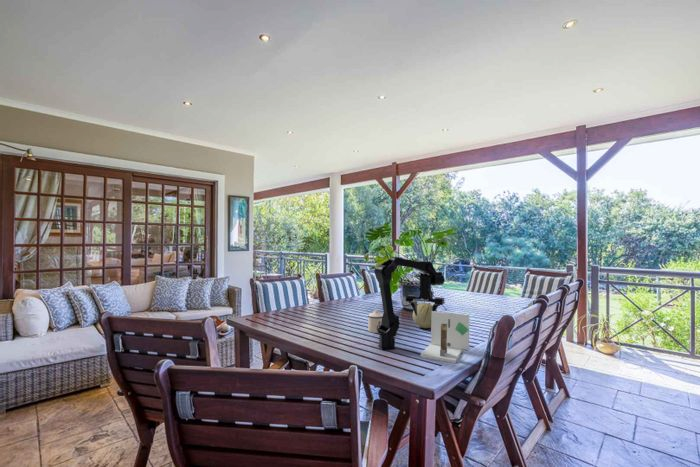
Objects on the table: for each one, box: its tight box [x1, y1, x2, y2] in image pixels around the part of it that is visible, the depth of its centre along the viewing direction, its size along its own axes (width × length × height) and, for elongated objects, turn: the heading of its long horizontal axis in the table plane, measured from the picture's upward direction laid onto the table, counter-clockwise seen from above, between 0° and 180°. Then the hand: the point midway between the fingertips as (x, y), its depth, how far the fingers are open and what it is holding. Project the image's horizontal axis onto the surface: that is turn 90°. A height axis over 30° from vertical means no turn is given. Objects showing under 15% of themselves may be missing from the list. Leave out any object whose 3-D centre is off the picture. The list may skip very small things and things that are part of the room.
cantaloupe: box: [412, 302, 438, 329], centre depth 204 cm, size 15×15×15 cm
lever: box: [441, 323, 447, 353], centre depth 154 cm, size 2×3×12 cm, turn 153°
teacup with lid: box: [367, 309, 384, 334], centre depth 196 cm, size 12×9×12 cm
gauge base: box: [420, 311, 470, 364], centre depth 158 cm, size 18×19×17 cm
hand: (424, 316), depth 176 cm, fingers open, 8 cm apart
